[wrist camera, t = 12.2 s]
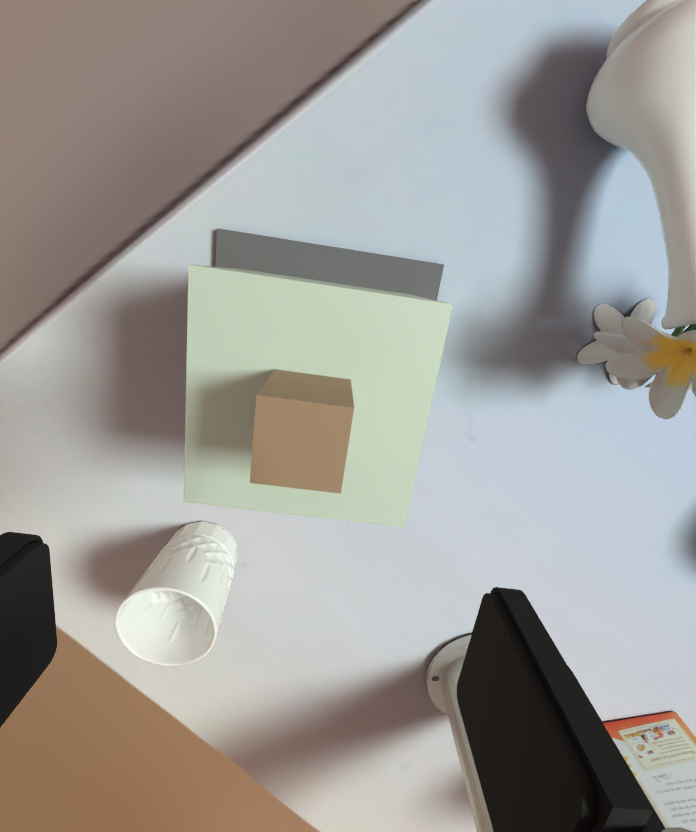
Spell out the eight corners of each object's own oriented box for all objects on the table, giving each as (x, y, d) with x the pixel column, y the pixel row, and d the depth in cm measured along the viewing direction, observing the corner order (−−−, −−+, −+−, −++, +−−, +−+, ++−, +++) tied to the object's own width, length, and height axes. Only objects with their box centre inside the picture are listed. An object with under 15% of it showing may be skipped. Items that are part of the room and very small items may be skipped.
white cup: (150, 532, 41) (93, 609, 31) (220, 503, 40) (183, 573, 31) (191, 591, 43) (150, 678, 34) (258, 565, 42) (234, 647, 33)
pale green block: (408, 294, 34) (487, 312, 16) (381, 440, 38) (420, 586, 20) (248, 269, 33) (140, 259, 15) (238, 422, 37) (144, 558, 19)
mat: (442, 264, 34) (444, 264, 33) (401, 464, 39) (402, 467, 39) (219, 229, 32) (216, 228, 32) (209, 440, 38) (207, 442, 37)
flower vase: (526, 138, 37) (570, 412, 38) (612, -87, 19) (687, 447, 20) (694, 87, 34) (734, 386, 35) (985, -237, 16) (1041, 400, 17)
